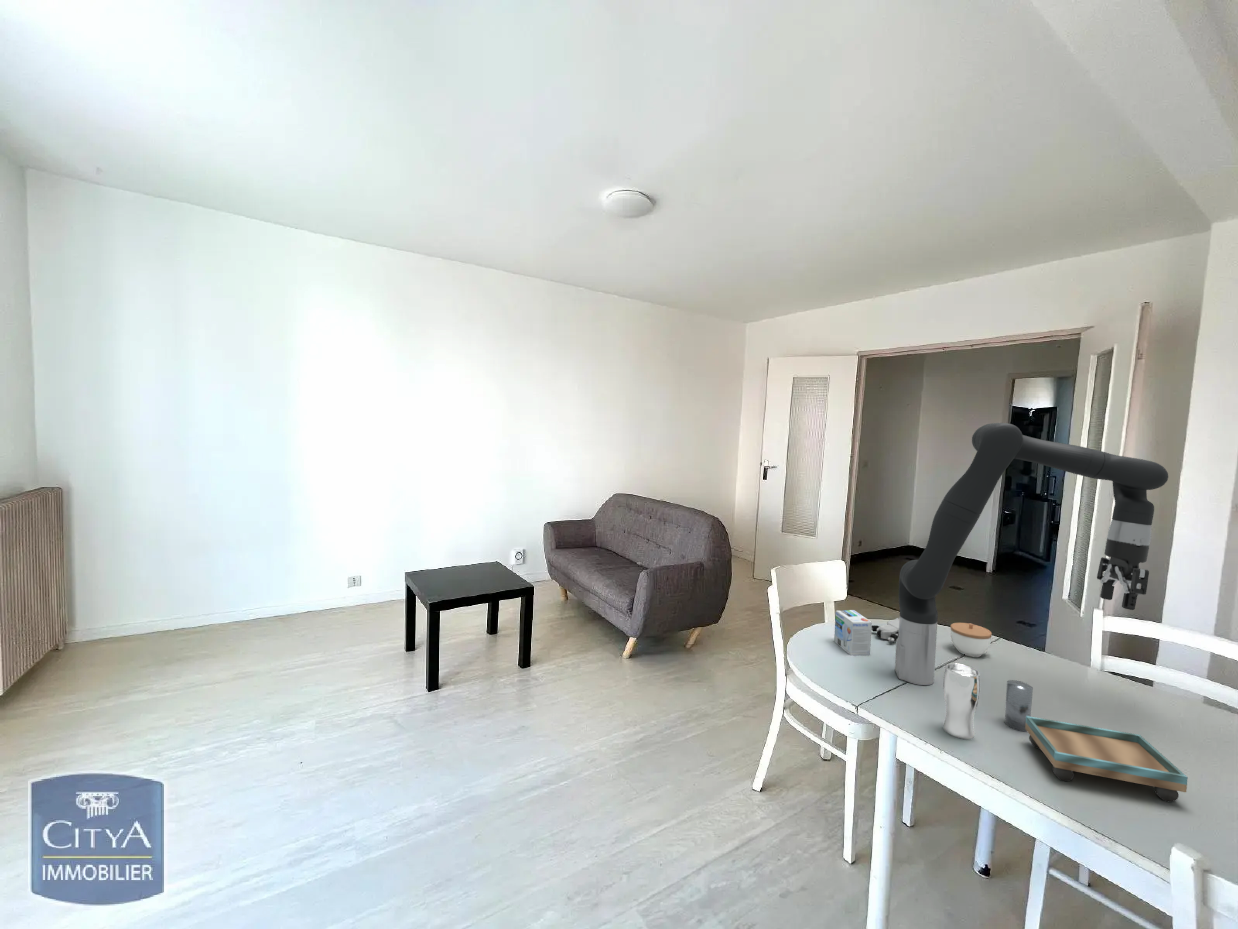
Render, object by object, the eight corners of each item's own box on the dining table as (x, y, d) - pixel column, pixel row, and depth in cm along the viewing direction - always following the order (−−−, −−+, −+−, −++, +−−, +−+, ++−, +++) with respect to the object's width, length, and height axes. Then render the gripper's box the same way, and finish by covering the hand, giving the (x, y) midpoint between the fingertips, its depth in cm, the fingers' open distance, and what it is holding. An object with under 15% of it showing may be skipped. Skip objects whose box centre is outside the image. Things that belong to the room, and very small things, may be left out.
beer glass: (977, 744, 113) (982, 679, 112) (941, 734, 117) (944, 671, 116) (975, 729, 119) (979, 667, 118) (940, 720, 123) (944, 660, 122)
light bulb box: (833, 641, 168) (834, 609, 167) (852, 641, 168) (854, 609, 168) (850, 656, 157) (852, 622, 156) (871, 655, 158) (873, 621, 157)
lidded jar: (964, 643, 167) (965, 616, 167) (998, 657, 157) (1000, 628, 157) (941, 648, 164) (943, 620, 163) (974, 662, 154) (976, 632, 153)
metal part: (1008, 729, 119) (1011, 688, 119) (1001, 718, 124) (1003, 678, 123) (1033, 733, 118) (1036, 691, 117) (1024, 722, 122) (1027, 682, 121)
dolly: (1053, 781, 101) (1055, 753, 101) (1024, 741, 114) (1026, 716, 114) (1184, 807, 95) (1187, 777, 94) (1137, 761, 108) (1139, 734, 107)
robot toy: (892, 650, 164) (929, 642, 168) (891, 636, 164) (928, 628, 168) (864, 635, 176) (899, 628, 180) (864, 622, 175) (899, 615, 179)
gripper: (1092, 533, 134) (1081, 593, 135) (1128, 542, 120) (1116, 609, 121) (1127, 538, 132) (1116, 599, 133) (1168, 548, 118) (1155, 616, 119)
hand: (1116, 604), depth 127 cm, fingers open, 8 cm apart
